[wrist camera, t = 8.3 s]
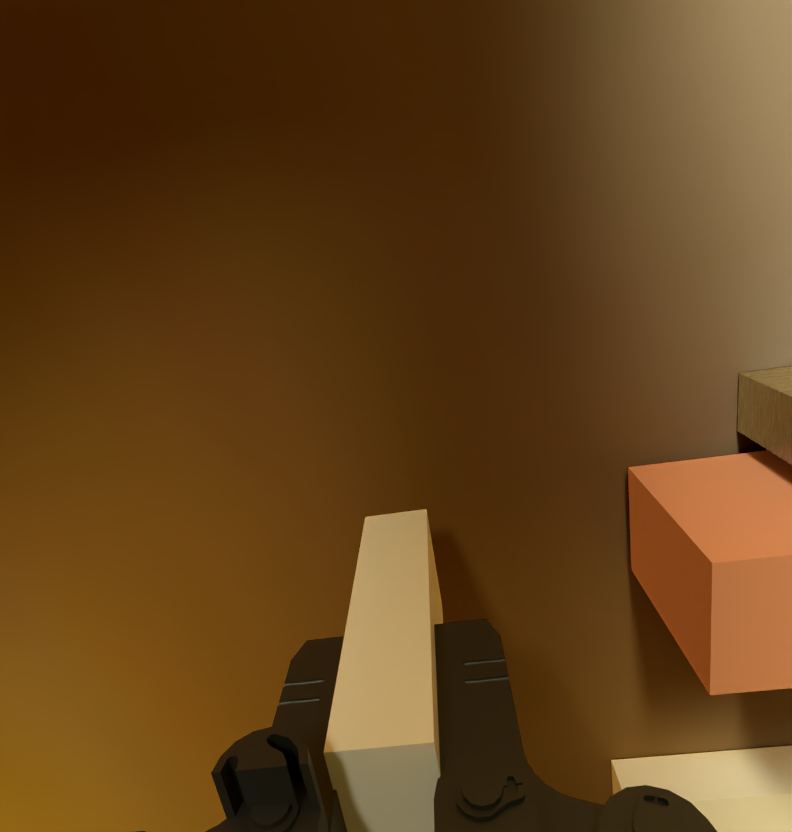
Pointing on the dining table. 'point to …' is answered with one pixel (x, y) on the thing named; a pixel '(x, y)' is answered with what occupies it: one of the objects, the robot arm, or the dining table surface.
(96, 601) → the dining table surface
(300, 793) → the robot arm
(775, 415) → the housing
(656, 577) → the key
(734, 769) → the block
